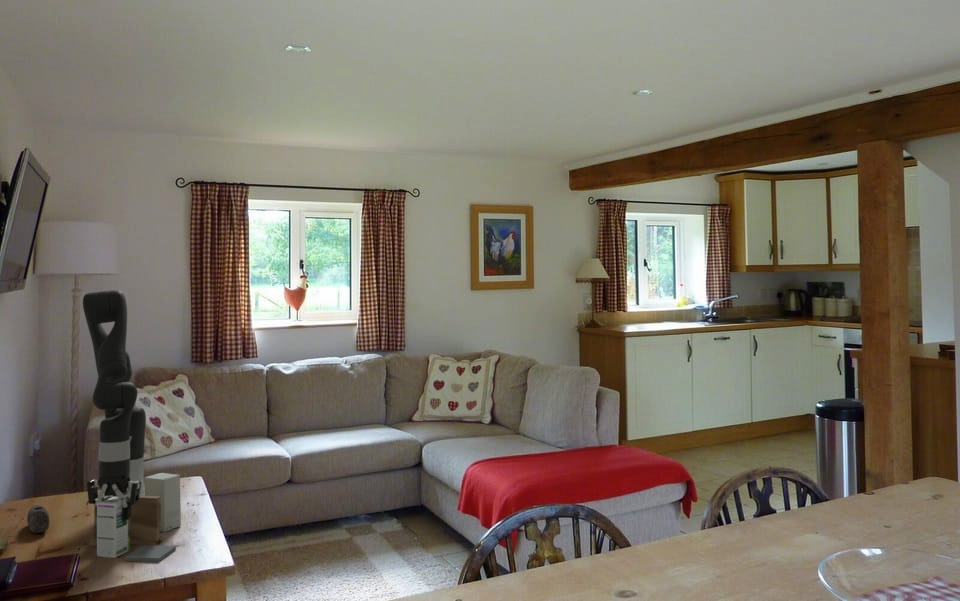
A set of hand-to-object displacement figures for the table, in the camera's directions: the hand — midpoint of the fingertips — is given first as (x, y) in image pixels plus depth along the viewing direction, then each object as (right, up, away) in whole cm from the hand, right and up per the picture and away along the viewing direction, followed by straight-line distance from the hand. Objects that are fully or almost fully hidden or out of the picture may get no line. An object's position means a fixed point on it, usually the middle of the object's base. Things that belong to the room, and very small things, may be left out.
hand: (113, 519), depth 189 cm
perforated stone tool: (-32, -9, +19) cm, 39 cm away
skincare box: (+3, -9, +22) cm, 24 cm away
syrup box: (0, -9, 0) cm, 9 cm away
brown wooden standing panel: (-1, -9, +9) cm, 13 cm away
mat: (+10, -9, -1) cm, 14 cm away
